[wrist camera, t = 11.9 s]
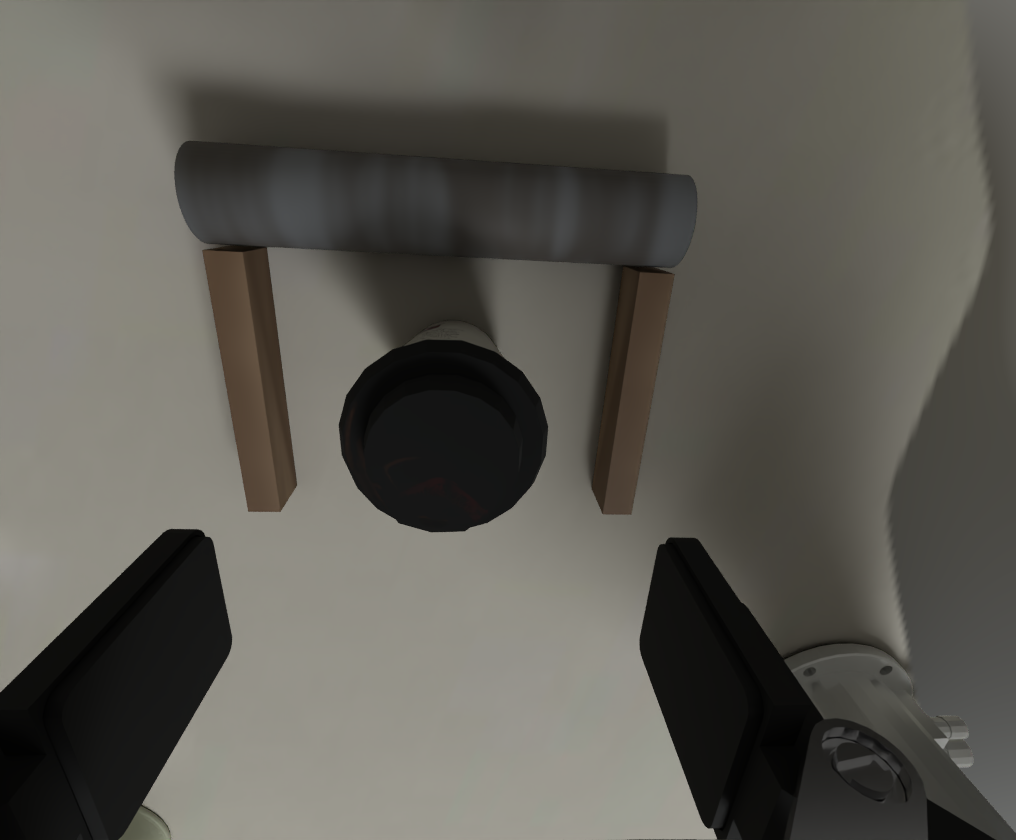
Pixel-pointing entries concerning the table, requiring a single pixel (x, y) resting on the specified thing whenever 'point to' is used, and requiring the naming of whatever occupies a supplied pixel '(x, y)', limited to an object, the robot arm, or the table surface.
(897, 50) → the table surface
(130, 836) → the can
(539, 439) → the coffee cup
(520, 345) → the table surface
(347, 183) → the bay
